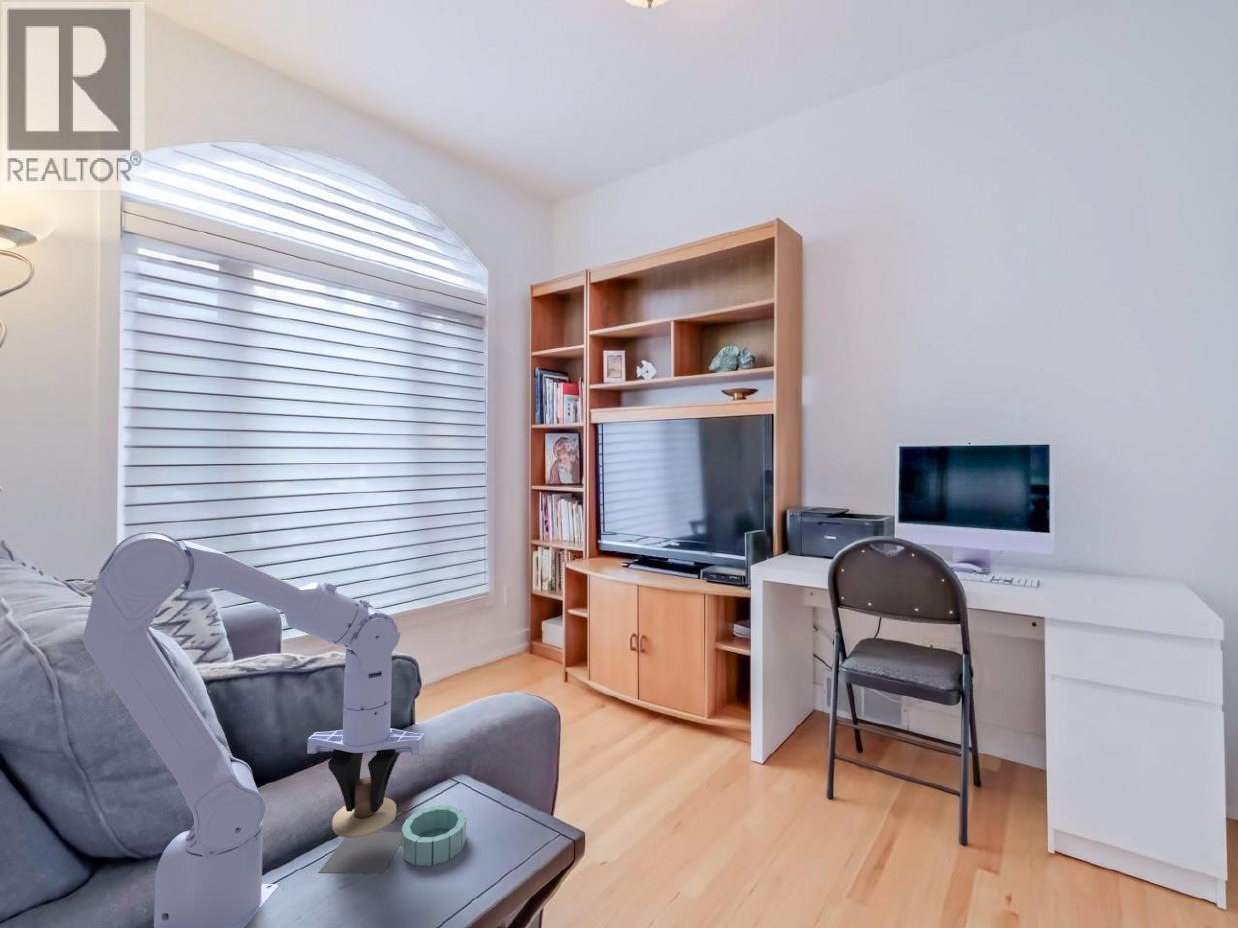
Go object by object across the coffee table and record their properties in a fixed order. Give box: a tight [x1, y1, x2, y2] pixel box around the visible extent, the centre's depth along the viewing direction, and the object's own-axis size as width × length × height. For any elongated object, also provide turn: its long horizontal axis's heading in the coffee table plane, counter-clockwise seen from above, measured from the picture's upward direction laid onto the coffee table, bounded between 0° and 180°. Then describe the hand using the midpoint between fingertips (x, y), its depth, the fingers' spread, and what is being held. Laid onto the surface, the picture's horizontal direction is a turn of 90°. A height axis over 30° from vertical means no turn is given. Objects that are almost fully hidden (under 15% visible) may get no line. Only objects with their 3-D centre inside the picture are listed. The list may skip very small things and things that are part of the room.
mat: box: [318, 831, 402, 874], centre depth 74 cm, size 8×8×1 cm
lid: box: [331, 776, 397, 838], centre depth 74 cm, size 8×8×5 cm
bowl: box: [400, 804, 467, 866], centre depth 75 cm, size 8×8×3 cm
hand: (365, 807), depth 74 cm, fingers closed on lid, 3 cm apart
